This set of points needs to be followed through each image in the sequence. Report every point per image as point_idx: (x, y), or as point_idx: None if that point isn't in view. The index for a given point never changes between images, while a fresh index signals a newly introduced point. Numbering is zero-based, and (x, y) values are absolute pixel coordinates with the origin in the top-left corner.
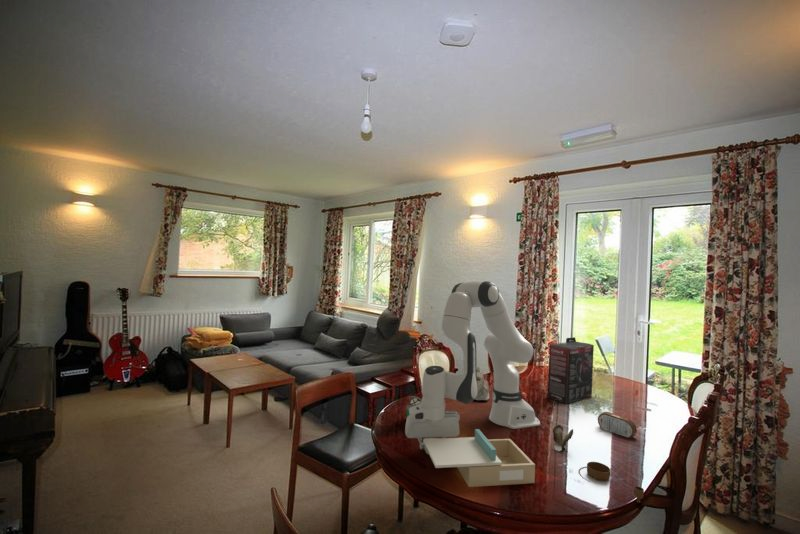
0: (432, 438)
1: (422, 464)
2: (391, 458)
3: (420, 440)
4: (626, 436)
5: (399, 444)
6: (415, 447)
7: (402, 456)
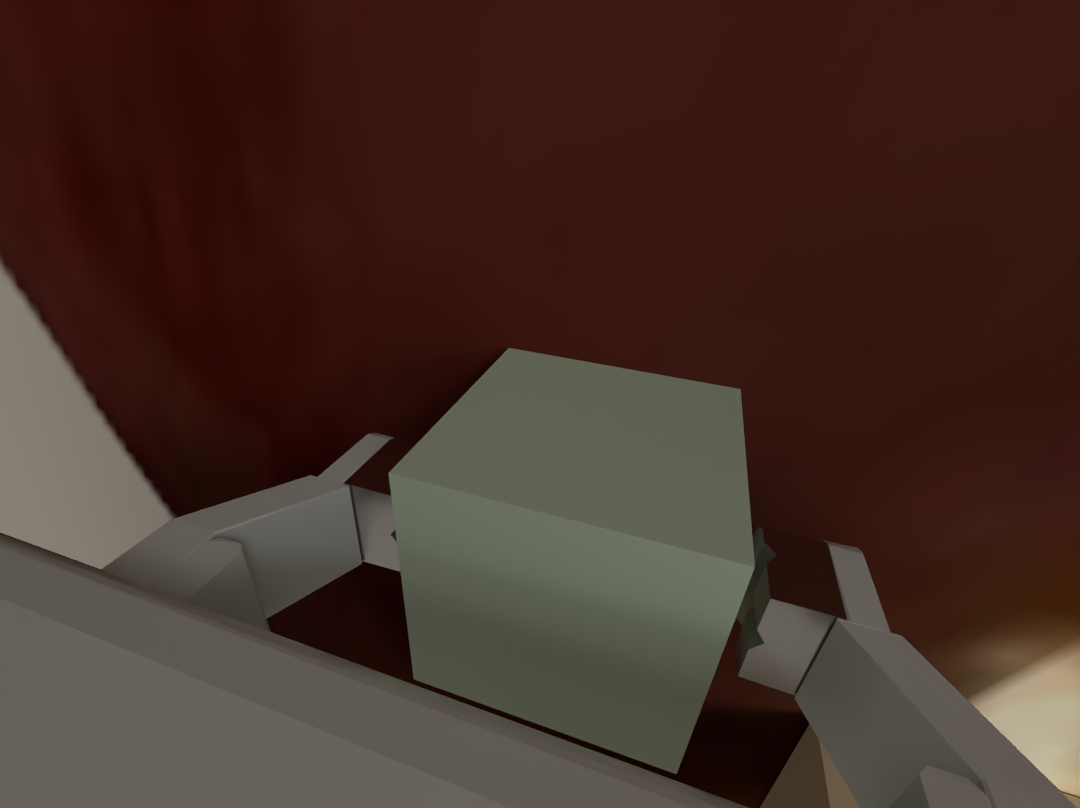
0: (610, 552)
1: None
2: (115, 427)
3: (272, 569)
4: None
5: (95, 32)
6: (371, 219)
7: (211, 426)
